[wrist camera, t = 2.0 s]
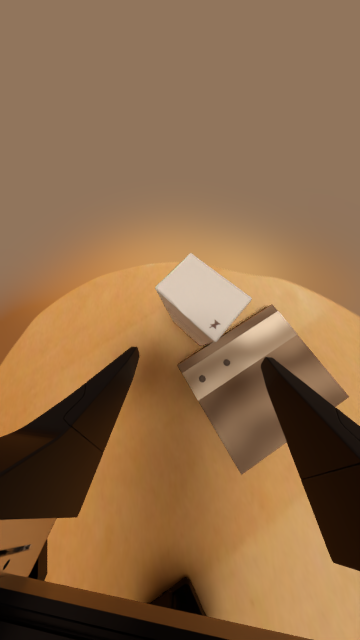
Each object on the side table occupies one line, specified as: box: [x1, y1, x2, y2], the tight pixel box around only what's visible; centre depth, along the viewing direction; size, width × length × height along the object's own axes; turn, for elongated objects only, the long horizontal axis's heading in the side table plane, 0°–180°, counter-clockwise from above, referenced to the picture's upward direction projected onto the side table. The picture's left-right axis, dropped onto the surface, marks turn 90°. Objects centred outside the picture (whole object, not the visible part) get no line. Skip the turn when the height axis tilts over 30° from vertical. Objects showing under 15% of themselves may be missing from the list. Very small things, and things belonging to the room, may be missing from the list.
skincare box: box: [155, 253, 252, 345], centre depth 15 cm, size 6×4×12 cm
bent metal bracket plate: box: [177, 305, 349, 475], centre depth 18 cm, size 14×16×2 cm
